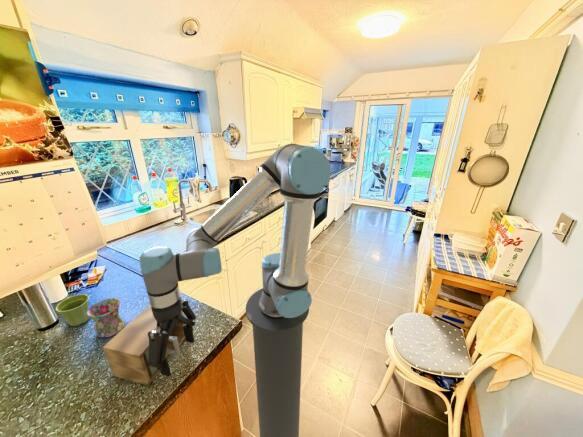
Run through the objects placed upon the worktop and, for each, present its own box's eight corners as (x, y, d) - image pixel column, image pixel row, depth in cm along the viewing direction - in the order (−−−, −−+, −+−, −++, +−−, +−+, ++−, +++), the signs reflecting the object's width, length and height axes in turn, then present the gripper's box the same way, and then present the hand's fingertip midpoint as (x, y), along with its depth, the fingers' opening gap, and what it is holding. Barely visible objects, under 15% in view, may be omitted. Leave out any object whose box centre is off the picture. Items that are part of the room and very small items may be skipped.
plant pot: (56, 330, 86) (47, 311, 82) (77, 311, 94) (70, 294, 91) (82, 330, 86) (75, 311, 83) (101, 311, 95) (95, 293, 92)
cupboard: (187, 335, 84) (181, 309, 80) (148, 385, 68) (139, 356, 63) (157, 329, 87) (151, 303, 82) (113, 376, 70) (102, 347, 66)
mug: (103, 322, 89) (94, 300, 85) (130, 318, 92) (123, 296, 88) (86, 349, 79) (76, 325, 75) (118, 343, 81) (109, 320, 77)
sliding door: (185, 356, 75) (180, 334, 72) (169, 379, 68) (163, 355, 65) (167, 352, 76) (161, 330, 73) (150, 374, 70) (143, 350, 66)
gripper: (181, 274, 76) (191, 325, 84) (117, 330, 55) (138, 392, 63) (201, 277, 75) (209, 329, 83) (144, 336, 54) (162, 398, 62)
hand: (179, 356), depth 73 cm, fingers open, 11 cm apart
